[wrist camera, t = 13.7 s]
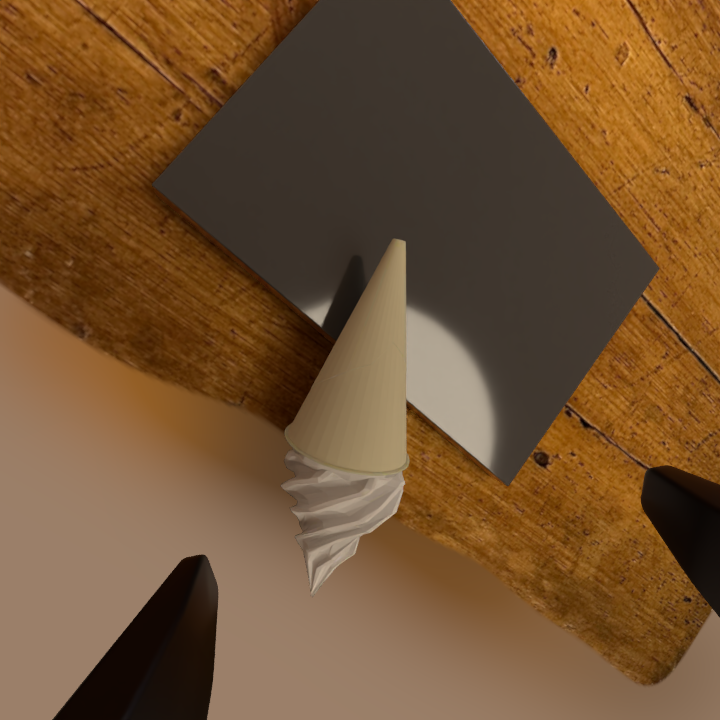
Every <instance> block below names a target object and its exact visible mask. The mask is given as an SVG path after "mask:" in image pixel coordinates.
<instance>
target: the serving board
mask: <svg viewBox="0 0 720 720" xmlns="http://www.w3.org/2000/svg"><path fill="white" fill-rule="evenodd" d="M152 187H153V189H154V191H155V194H156V196H157V197H158V198H160V199H161V200H162V201H163V202H164V203H166V204H167V205H168V206H169V207H170V208H172V209H173V210H174V211H175V212H176V213H177V214H179V215H180V216H181V217H182V218H183V219H185V220H186V221H187V222H188V223H189V224H191V225H192V226H193V227H194V228H195V229H196V230H198V231H199V232H200V233H201V234H202V235H204V236H205V237H206V238H207V239H208V240H210V241H211V242H212V243H213V244H214V245H216V246H217V247H218V248H219V249H220V250H221V251H223V252H224V253H225V254H226V255H227V256H229V257H230V258H231V259H232V260H233V261H235V262H236V263H237V264H238V265H239V266H241V267H242V268H243V269H244V270H245V271H246V272H248V273H249V274H250V275H251V276H252V277H254V278H255V279H256V280H257V281H258V282H260V283H261V284H262V285H263V286H264V287H266V288H267V289H268V290H269V291H270V292H271V293H273V294H274V295H275V296H276V297H277V298H279V299H280V300H281V301H282V302H283V303H285V304H286V305H287V306H288V307H289V308H291V309H292V310H293V311H294V312H295V313H296V314H298V315H299V316H300V317H301V318H302V319H304V320H305V321H306V322H307V323H308V324H310V325H311V326H312V327H313V328H314V329H316V330H317V331H318V332H319V333H320V334H321V335H323V336H324V337H325V338H326V339H327V340H329V341H330V342H331V343H332V344H333V345H335V343H336V341H337V340H338V338H339V336H340V334H341V332H342V330H343V329H344V327H345V325H346V323H347V321H348V319H349V318H350V316H351V314H352V312H353V310H354V308H355V307H356V305H357V303H358V301H359V299H360V297H361V296H362V294H363V292H364V290H365V288H366V287H367V285H368V283H369V281H370V279H371V277H372V276H373V274H374V272H375V270H376V268H377V266H378V265H379V263H380V261H381V259H382V257H383V255H384V254H385V252H386V250H387V248H388V246H389V244H390V243H391V241H392V239H399V240H403V241H405V242H406V368H407V369H406V406H407V407H408V408H410V409H411V410H412V411H413V412H414V413H415V414H417V415H418V416H419V417H420V418H421V419H423V420H424V421H425V422H426V423H427V424H429V425H430V426H431V427H432V428H433V429H435V430H436V431H437V432H438V433H439V434H440V435H442V436H443V437H444V438H445V439H446V440H448V441H449V442H450V443H451V444H452V445H454V446H455V447H456V448H457V449H458V450H460V451H461V452H462V453H463V454H464V455H465V456H467V457H468V458H469V459H470V460H471V461H473V462H474V463H475V464H476V465H477V466H479V467H480V468H481V469H482V470H483V471H484V472H486V473H487V474H488V475H489V476H490V477H492V478H494V479H496V480H497V481H499V482H501V483H503V484H504V485H506V486H509V485H510V483H511V482H512V480H513V479H514V478H515V476H516V475H517V473H518V472H519V470H520V469H521V467H522V466H523V465H524V463H525V462H526V460H527V459H528V457H529V456H530V455H531V453H532V452H533V450H534V449H535V447H536V446H537V444H538V443H539V442H540V440H541V439H542V437H543V436H544V434H545V433H546V432H547V430H548V429H549V427H550V426H551V424H552V423H553V421H554V420H555V419H556V417H557V416H558V414H559V413H560V411H561V410H562V408H563V407H564V406H565V404H566V403H567V401H568V400H569V398H570V397H571V396H572V394H573V393H574V391H575V390H576V388H577V387H578V385H579V384H580V383H581V381H582V380H583V378H584V377H585V375H586V374H587V372H588V371H589V370H590V368H591V367H592V365H593V364H594V362H595V361H596V360H597V358H598V357H599V355H600V354H601V352H602V351H603V349H604V348H605V347H606V345H607V344H608V342H609V341H610V339H611V338H612V336H613V335H614V334H615V332H616V331H617V329H618V328H619V326H620V325H621V324H622V322H623V321H624V319H625V318H626V316H627V315H628V313H629V312H630V311H631V309H632V308H633V306H634V305H635V303H636V302H637V300H638V299H639V298H640V296H641V295H642V293H643V292H644V290H645V289H646V288H647V286H648V285H649V283H650V282H651V280H652V279H653V277H654V276H655V275H656V273H657V272H658V270H659V267H658V266H657V264H656V263H655V262H654V261H653V259H652V258H651V257H650V255H649V254H648V253H647V252H646V250H645V249H644V248H643V246H642V245H641V244H640V243H639V241H638V240H637V239H636V237H635V236H634V235H633V234H632V232H631V231H630V230H629V228H628V227H627V226H626V225H625V223H624V222H623V221H622V219H621V218H620V217H619V216H618V214H617V213H616V212H615V210H614V209H613V208H612V207H611V205H610V204H609V203H608V202H607V200H606V199H605V198H604V196H603V195H602V194H601V193H600V191H599V190H598V189H597V187H596V186H595V185H594V184H593V182H592V181H591V180H590V178H589V177H588V176H587V175H586V173H585V172H584V171H583V169H582V168H581V167H580V166H579V164H578V163H577V162H576V160H575V159H574V158H573V157H572V155H571V154H570V153H569V152H568V150H567V149H566V148H565V146H564V145H563V144H562V143H561V141H560V140H559V139H558V137H557V136H556V135H555V134H554V132H553V131H552V130H551V128H550V127H549V126H548V125H547V123H546V122H545V121H544V119H543V118H542V117H541V116H540V114H539V113H538V112H537V110H536V109H535V108H534V107H533V105H532V104H531V103H530V101H529V100H528V99H527V98H526V96H525V95H524V94H523V93H522V91H521V90H520V89H519V87H518V86H517V85H516V84H515V82H514V81H513V80H512V78H511V77H510V76H509V75H508V73H507V72H506V71H505V69H504V68H503V67H502V66H501V64H500V63H499V62H498V60H497V59H496V58H495V57H494V55H493V54H492V53H491V51H490V50H489V49H488V48H487V46H486V45H485V44H484V43H483V41H482V40H481V39H480V37H479V36H478V35H477V34H476V32H475V31H474V30H473V28H472V27H471V26H470V25H469V23H468V22H467V21H466V19H465V18H464V17H463V16H462V14H461V13H460V12H459V10H458V9H457V8H456V7H455V5H454V4H453V3H452V1H451V0H319V1H318V2H317V3H316V4H315V5H314V7H313V8H312V9H311V10H310V11H309V12H308V13H307V14H306V15H305V16H304V18H303V19H302V20H301V21H300V22H299V23H298V24H297V25H296V26H295V27H294V29H293V30H292V31H291V32H290V33H289V34H288V35H287V36H286V37H285V38H284V39H283V41H282V42H281V43H280V44H279V45H278V46H277V47H276V48H275V49H274V50H273V52H272V53H271V54H270V55H269V56H268V57H267V58H266V59H265V60H264V61H263V63H262V64H261V65H260V66H259V67H258V68H257V69H256V70H255V71H254V72H253V74H252V75H251V76H250V77H249V78H248V79H247V80H246V81H245V82H244V83H243V84H242V86H241V87H240V88H239V89H238V90H237V91H236V92H235V93H234V94H233V95H232V97H231V98H230V99H229V100H228V101H227V102H226V103H225V104H224V105H223V106H222V108H221V109H220V110H219V111H218V112H217V113H216V114H215V115H214V116H213V117H212V118H211V120H210V121H209V122H208V123H207V124H206V125H205V126H204V127H203V128H202V129H201V131H200V132H199V133H198V134H197V135H196V136H195V137H194V138H193V139H192V140H191V142H190V143H189V144H188V145H187V146H186V147H185V148H184V149H183V150H182V151H181V152H180V154H179V155H178V156H177V157H176V158H175V159H174V160H173V161H172V162H171V163H170V165H169V166H168V167H167V168H166V169H165V170H164V171H163V172H162V173H161V174H160V176H159V177H158V178H157V179H156V180H155V181H154V182H153V183H152Z"/></svg>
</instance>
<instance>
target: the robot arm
mask: <svg viewBox="0 0 720 720" xmlns="http://www.w3.org/2000/svg"><path fill="white" fill-rule="evenodd" d="M641 504H642V507H643V510H644V512H645V513H646V515H647V516H648V518H649V519H650V521H651V522H652V524H653V525H654V527H655V528H656V530H657V531H658V533H659V534H660V536H661V537H662V539H663V540H664V542H665V543H666V545H667V546H668V548H669V549H670V551H671V552H672V554H673V555H674V557H675V559H676V560H677V562H678V563H679V565H680V566H681V568H682V569H683V570H684V572H685V573H686V575H687V576H688V578H689V579H690V580H691V582H692V583H693V584H694V586H695V587H696V588H697V589H698V591H699V592H700V593H701V595H702V596H703V597H704V598H705V600H706V601H707V602H708V603H709V605H710V606H711V607H712V608H713V610H714V611H715V612H716V613H717V615H718V616H719V617H720V485H719V484H716V483H714V482H711V481H709V480H706V479H703V478H701V477H698V476H696V475H693V474H690V473H688V472H685V471H683V470H680V469H677V468H675V467H672V466H668V465H665V466H659V467H654V468H650V469H648V470H647V471H646V473H645V477H644V483H643V489H642V495H641ZM217 609H218V586H217V582H216V579H215V577H214V574H213V571H212V568H211V566H210V563H209V560H208V558H207V557H206V556H205V555H196V556H191V557H186V558H184V559H183V560H181V562H180V563H179V564H178V565H177V567H176V568H175V569H174V570H173V571H172V573H171V574H170V575H169V576H168V578H167V579H166V580H165V581H164V582H163V584H162V585H161V586H160V588H159V589H158V590H157V591H156V592H155V594H154V595H153V596H152V597H151V598H150V600H149V601H148V602H147V604H146V605H145V606H144V607H143V608H142V610H141V611H140V612H139V613H138V615H137V616H136V617H135V618H134V619H133V621H132V622H131V623H130V625H129V626H128V627H127V628H126V629H125V631H124V632H123V633H122V634H121V636H120V637H119V638H118V639H117V640H116V642H115V643H114V644H113V645H112V647H111V648H110V649H109V651H108V652H107V653H106V654H105V655H104V657H103V658H102V659H101V660H100V662H99V663H98V664H97V665H96V666H95V668H94V669H93V670H92V671H91V673H90V674H89V675H88V676H87V678H86V679H85V680H84V681H83V682H82V684H81V685H80V686H79V687H78V689H77V690H76V691H75V692H74V694H73V695H72V696H71V697H70V698H69V700H68V701H67V702H66V704H65V705H64V706H63V707H62V708H61V710H60V711H59V712H58V713H57V715H56V716H55V717H54V719H52V720H207V715H208V709H209V703H210V697H211V690H212V682H213V672H214V658H215V641H216V624H217Z"/></svg>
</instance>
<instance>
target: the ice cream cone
mask: <svg viewBox="0 0 720 720" xmlns="http://www.w3.org/2000/svg"><path fill="white" fill-rule="evenodd" d="M406 369H407V368H406V242H405V241H403V240H399V239H392V241H391V243H390V244H389V246H388V248H387V250H386V252H385V254H384V255H383V257H382V259H381V261H380V263H379V265H378V266H377V268H376V270H375V272H374V274H373V276H372V277H371V279H370V281H369V283H368V285H367V287H366V288H365V290H364V292H363V294H362V296H361V297H360V299H359V301H358V303H357V305H356V307H355V308H354V310H353V312H352V314H351V316H350V318H349V319H348V321H347V323H346V325H345V327H344V329H343V330H342V332H341V334H340V336H339V338H338V340H337V341H336V343H335V345H334V347H333V349H332V351H331V352H330V354H329V356H328V358H327V360H326V361H325V363H324V365H323V367H322V369H321V371H320V372H319V374H318V376H317V378H316V380H315V382H314V383H313V385H312V387H311V390H310V392H309V393H308V395H307V397H306V399H305V401H304V403H303V404H302V406H301V408H300V410H299V412H298V413H297V415H296V417H295V419H294V421H293V423H291V424H290V425H288V426H287V428H286V429H285V433H284V435H285V439H286V441H287V442H288V443H289V445H290V446H292V448H293V450H289V451H288V453H287V454H286V457H285V460H284V463H285V465H286V467H287V468H288V469H289V470H291V471H293V472H294V473H295V478H291V479H289V480H287V481H285V482H284V483H282V484H281V487H282V488H283V489H284V490H285V491H286V492H287V493H289V494H290V495H291V496H292V497H294V498H295V499H296V500H297V505H295V506H293V507H291V508H290V510H291V512H293V513H294V514H295V515H296V516H297V518H298V520H299V524H300V527H301V529H302V530H303V532H302V533H301V534H298V535H296V536H295V538H296V540H297V542H298V544H299V545H300V547H301V548H302V550H303V552H304V558H305V563H306V568H307V573H308V578H309V584H310V590H311V596H312V597H313V596H314V595H315V593H316V592H317V591H318V589H319V588H320V587H321V585H322V584H323V583H324V582H325V580H326V579H327V578H328V577H329V576H330V574H331V573H332V572H333V571H334V570H335V568H336V567H337V566H338V565H339V564H341V563H342V562H344V561H345V560H347V559H348V558H350V557H351V556H353V555H354V554H355V553H356V549H357V545H358V542H359V538H360V536H362V535H363V534H367V533H371V532H372V531H373V530H374V529H376V528H377V527H378V526H380V525H381V524H382V523H383V522H385V521H386V520H387V519H388V518H390V517H391V516H392V515H393V514H395V513H396V511H397V508H398V505H399V502H400V499H401V496H402V493H403V486H404V484H405V481H404V478H403V476H402V471H403V470H405V469H406V468H407V467H408V465H409V456H408V454H407V452H406Z"/></svg>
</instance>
